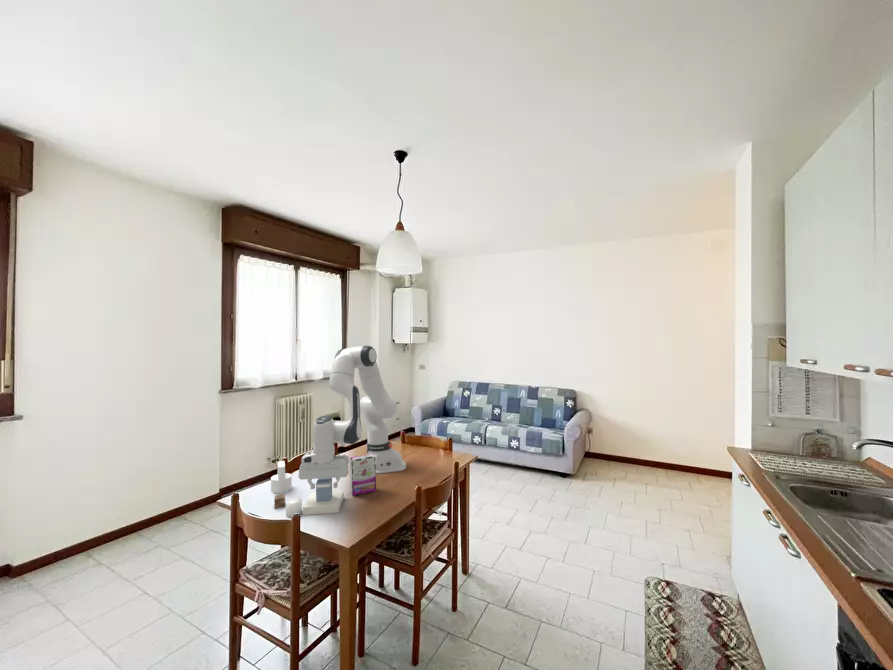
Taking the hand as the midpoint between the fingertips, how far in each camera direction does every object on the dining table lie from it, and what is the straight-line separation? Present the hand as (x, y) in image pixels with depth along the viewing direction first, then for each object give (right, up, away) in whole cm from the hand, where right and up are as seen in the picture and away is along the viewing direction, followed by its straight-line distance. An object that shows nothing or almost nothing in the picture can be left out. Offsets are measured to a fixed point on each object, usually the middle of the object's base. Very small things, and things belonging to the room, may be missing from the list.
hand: (324, 488), depth 155 cm
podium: (0, -8, 0) cm, 8 cm away
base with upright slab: (-26, -8, +18) cm, 33 cm away
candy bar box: (+13, -8, +14) cm, 21 cm away
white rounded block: (-10, -8, -6) cm, 14 cm away
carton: (0, -5, 0) cm, 5 cm away
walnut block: (-19, -8, +1) cm, 21 cm away
